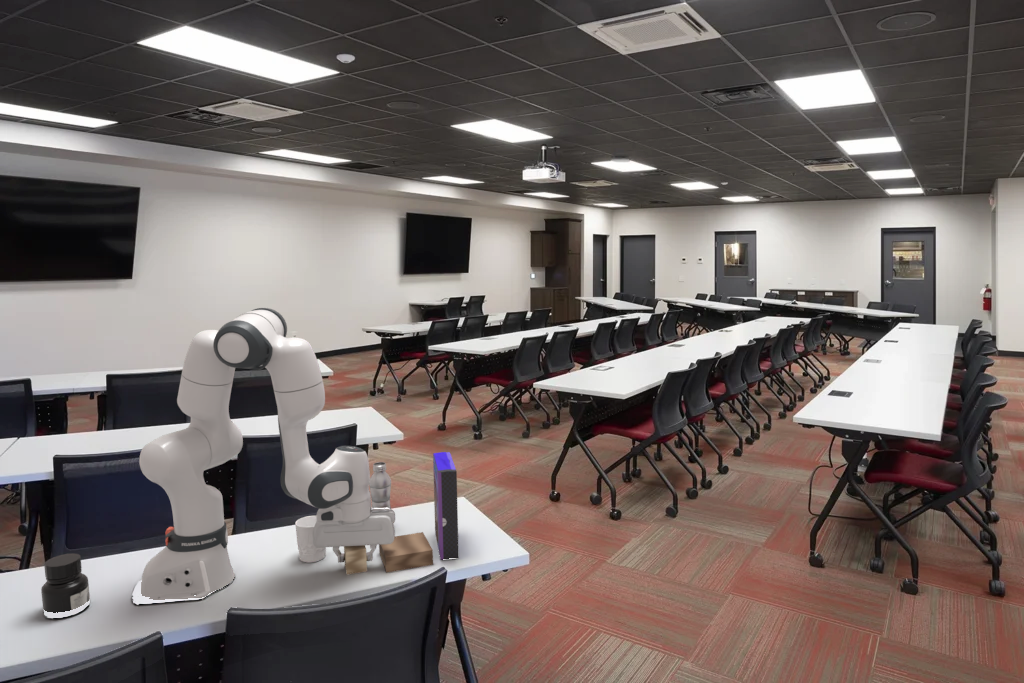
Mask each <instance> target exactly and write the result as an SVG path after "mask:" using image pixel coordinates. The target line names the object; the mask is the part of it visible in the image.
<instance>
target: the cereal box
mask: <svg viewBox="0 0 1024 683" xmlns="http://www.w3.org/2000/svg"><path fill="white" fill-rule="evenodd" d="M432 460H433V461H432V463H433V465H432V466H433V467H432V468H433V469H432V470H433V497H434V499H433V500H434V501H433V502H434V504H433V505H434V534H435V540H436V544H437V548H438V550H439V551H438V555H440V556H439V560H442V561H444V560H443V559H449V558H459V554H460V553H459V523H458V522H459V521H458V518H459V516H458V480H457V479H458V474H457V469H456V466H455V463H454V460H453V456H452V454H451V452H450V451H447V452H446V451H441V452H434V453H432Z"/></svg>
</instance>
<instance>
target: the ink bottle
mask: <svg viewBox="0 0 1024 683" xmlns="http://www.w3.org/2000/svg"><path fill="white" fill-rule="evenodd" d="M81 558H82V556H81V555H80V554H79V553H65V554H59V555H56V556H54V557H51V558H49V559H47V560H46V561H44V565H43V566H44V574H45V575H44V576H45V580H46V582H45V583H44V584H42V587H41V601H42V610H43V609H44V610H45V611H47V612H53V613H56V612H57V613H58V612H65V611H70V610H73V609H76V608H78V607H80V606H82V605H84V604H85V603H86V602H88V601H89V599H90V600H91V594H90V593H91V592H90V586H89V585H90V584H89V578H88V576H87V575H86V574H84V573H82V572H83V571H82V570H83V569H82V568H83V567H82V560H81Z"/></svg>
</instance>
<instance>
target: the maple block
mask: <svg viewBox="0 0 1024 683" xmlns="http://www.w3.org/2000/svg"><path fill="white" fill-rule="evenodd" d="M343 552H344V553H345V561H344V568H345V571H346V575H354V574H359V573H360V574H361V573H366V572H368V565H367V564H368V563H367V562H368V561H367V558H366V553H367V547H366V545H361V546H343Z"/></svg>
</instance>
